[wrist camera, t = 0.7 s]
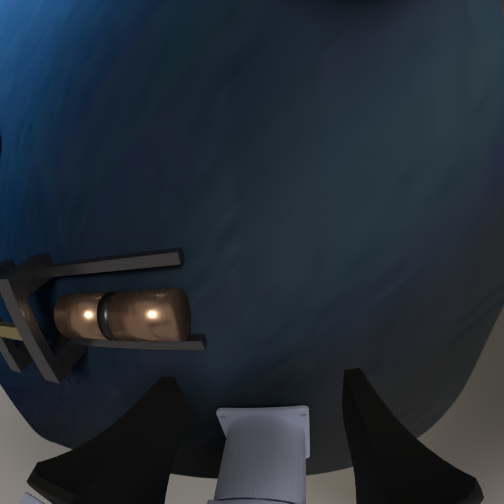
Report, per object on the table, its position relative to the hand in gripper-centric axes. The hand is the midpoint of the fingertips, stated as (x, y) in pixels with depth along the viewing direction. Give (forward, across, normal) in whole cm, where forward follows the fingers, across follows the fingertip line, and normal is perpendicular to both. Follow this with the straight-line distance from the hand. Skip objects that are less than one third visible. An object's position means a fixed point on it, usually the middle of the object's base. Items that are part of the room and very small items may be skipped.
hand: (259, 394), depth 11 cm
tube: (+8, +10, 0) cm, 13 cm away
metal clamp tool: (+8, +15, 0) cm, 17 cm away
